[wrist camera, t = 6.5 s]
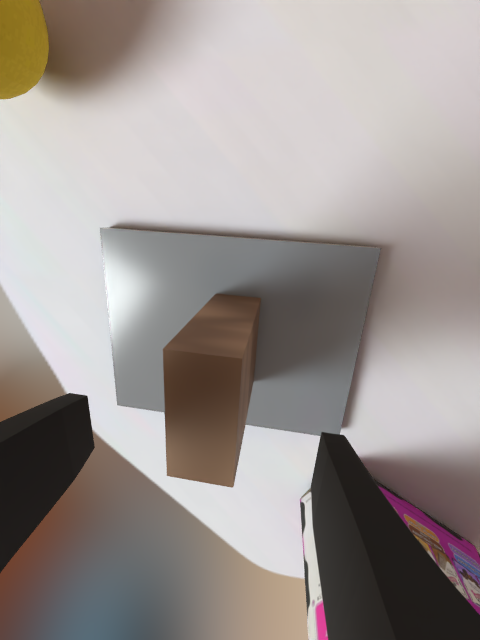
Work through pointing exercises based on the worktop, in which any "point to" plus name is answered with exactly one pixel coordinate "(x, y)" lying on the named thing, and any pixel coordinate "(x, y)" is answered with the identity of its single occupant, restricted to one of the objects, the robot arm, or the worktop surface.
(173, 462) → the walnut slab
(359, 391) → the worktop surface
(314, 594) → the candy bar box
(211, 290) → the grey flat rectangular plate
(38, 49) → the lemon
